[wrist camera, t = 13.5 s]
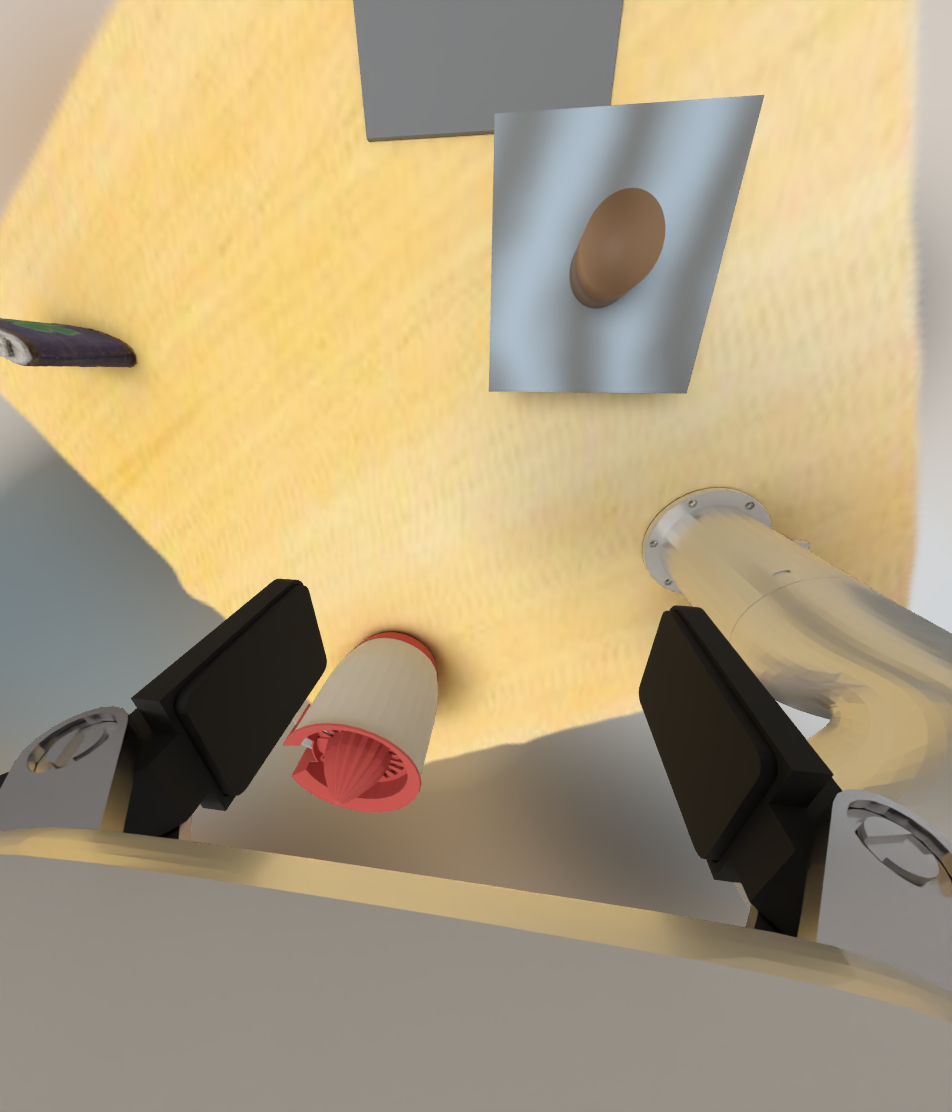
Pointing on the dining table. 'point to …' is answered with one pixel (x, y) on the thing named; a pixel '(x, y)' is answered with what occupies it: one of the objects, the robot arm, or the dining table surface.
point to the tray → (480, 61)
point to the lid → (610, 241)
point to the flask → (61, 345)
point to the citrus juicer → (370, 726)
